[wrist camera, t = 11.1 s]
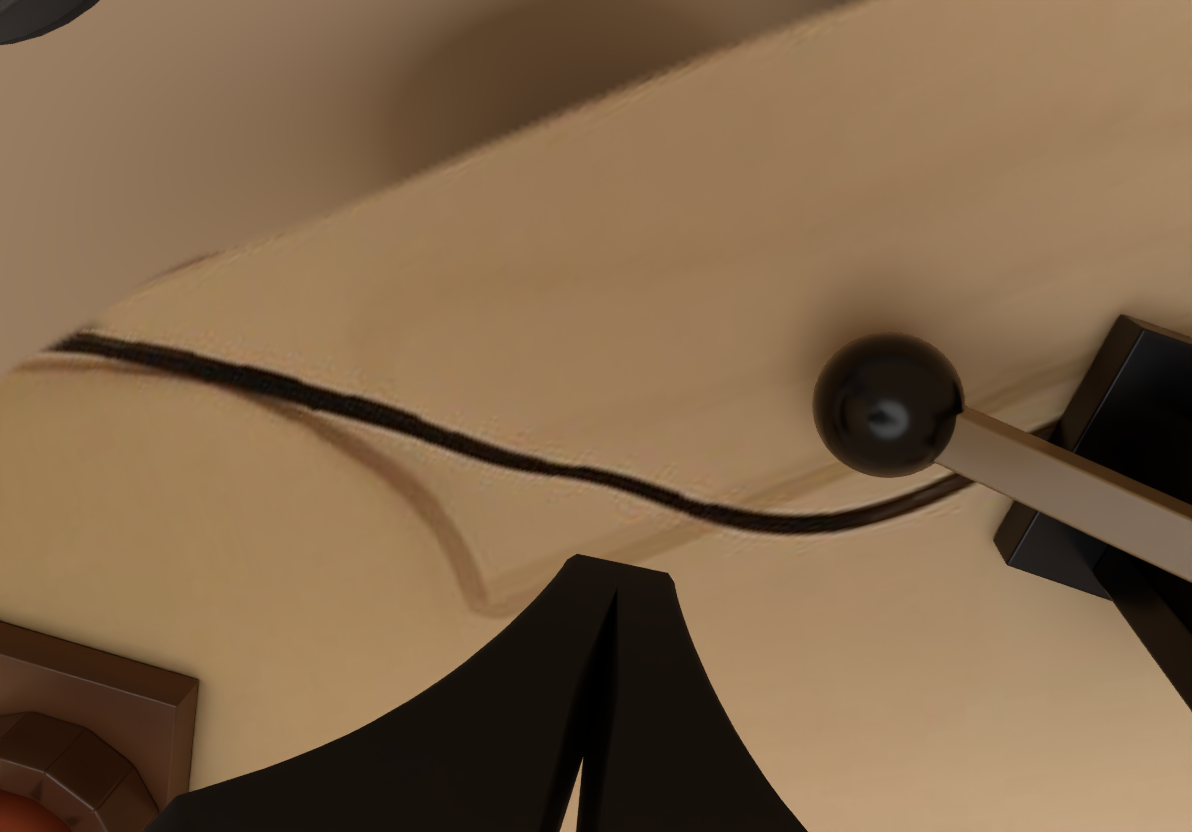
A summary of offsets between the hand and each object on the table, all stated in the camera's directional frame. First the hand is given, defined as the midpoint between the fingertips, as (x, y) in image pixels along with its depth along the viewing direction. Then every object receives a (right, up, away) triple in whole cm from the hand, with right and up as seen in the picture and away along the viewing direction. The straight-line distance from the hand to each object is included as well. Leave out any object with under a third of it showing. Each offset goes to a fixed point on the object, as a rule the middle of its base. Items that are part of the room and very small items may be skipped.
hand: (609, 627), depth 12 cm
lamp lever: (+10, +1, +7) cm, 12 cm away
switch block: (-17, -8, +17) cm, 25 cm away
